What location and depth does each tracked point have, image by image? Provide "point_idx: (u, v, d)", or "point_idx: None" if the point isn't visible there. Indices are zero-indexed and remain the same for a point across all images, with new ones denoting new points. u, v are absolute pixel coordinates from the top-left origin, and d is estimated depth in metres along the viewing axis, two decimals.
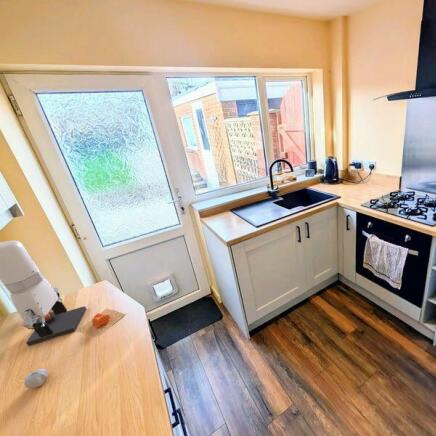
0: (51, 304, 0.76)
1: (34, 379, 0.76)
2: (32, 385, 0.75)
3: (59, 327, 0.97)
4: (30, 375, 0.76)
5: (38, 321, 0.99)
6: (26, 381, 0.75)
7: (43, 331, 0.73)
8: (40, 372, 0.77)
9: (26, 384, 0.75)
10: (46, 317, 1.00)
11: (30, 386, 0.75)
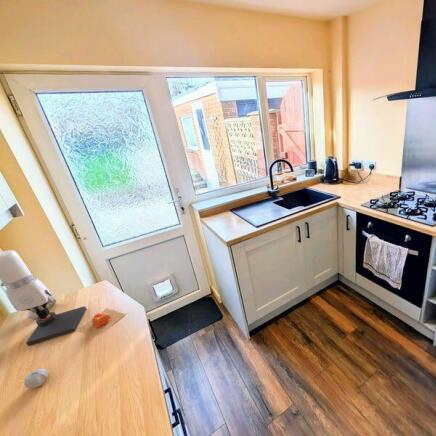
0: None
1: (34, 379, 0.76)
2: (32, 385, 0.75)
3: (59, 327, 0.97)
4: (30, 375, 0.76)
5: (38, 321, 0.99)
6: (26, 381, 0.75)
7: (47, 310, 1.01)
8: (40, 372, 0.77)
9: (26, 384, 0.75)
10: None
11: (30, 386, 0.75)
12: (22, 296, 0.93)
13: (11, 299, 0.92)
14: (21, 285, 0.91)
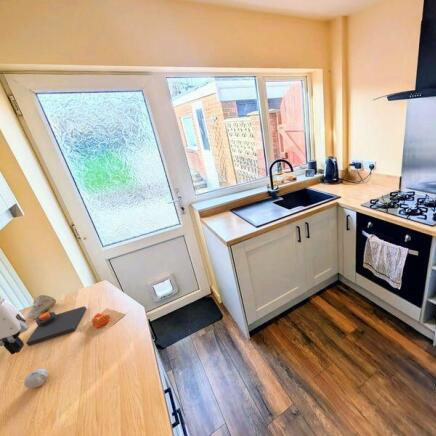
0: None
1: (34, 379, 0.76)
2: (32, 385, 0.75)
3: (59, 327, 0.97)
4: (30, 375, 0.76)
5: (38, 321, 0.99)
6: (26, 381, 0.75)
7: (21, 340, 0.74)
8: (40, 372, 0.77)
9: (26, 384, 0.75)
10: (46, 317, 1.00)
11: (30, 386, 0.75)
12: None
13: None
14: None
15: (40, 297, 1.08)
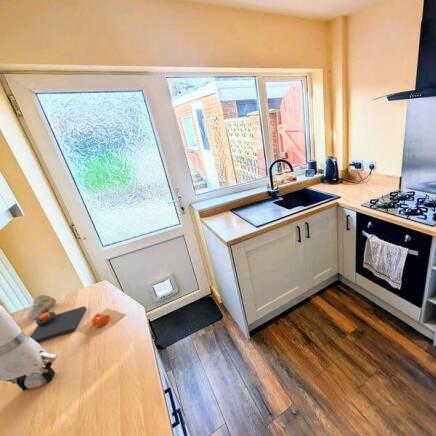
0: None
1: (34, 379, 0.76)
2: (32, 385, 0.75)
3: (59, 327, 0.97)
4: (30, 375, 0.76)
5: (38, 321, 0.99)
6: (26, 381, 0.75)
7: (52, 370, 0.79)
8: (40, 372, 0.77)
9: (26, 384, 0.75)
10: (46, 317, 1.00)
11: (30, 386, 0.75)
12: (10, 363, 0.71)
13: None
14: (8, 350, 0.69)
15: (40, 297, 1.08)
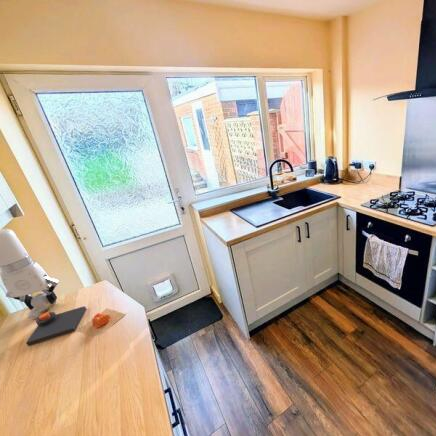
0: None
1: (39, 299, 0.88)
2: (37, 304, 0.88)
3: (59, 327, 0.97)
4: (36, 296, 0.89)
5: (38, 321, 0.99)
6: (32, 300, 0.88)
7: (54, 294, 0.92)
8: (44, 295, 0.90)
9: (32, 303, 0.88)
10: (46, 317, 1.00)
11: (36, 305, 0.88)
12: (19, 280, 0.83)
13: (6, 284, 0.82)
14: (18, 268, 0.81)
15: None
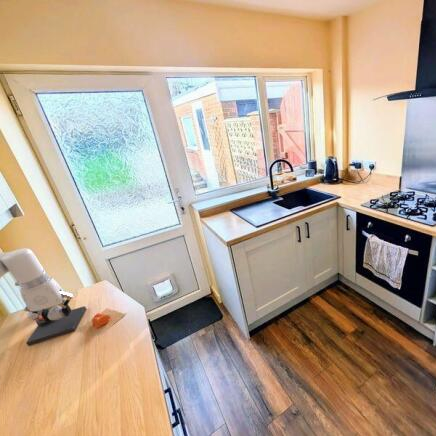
0: None
1: (55, 312, 0.94)
2: (54, 317, 0.94)
3: (59, 327, 0.97)
4: (52, 310, 0.95)
5: (38, 321, 0.99)
6: (49, 314, 0.94)
7: (69, 307, 0.98)
8: (60, 308, 0.96)
9: (49, 316, 0.94)
10: None
11: (52, 318, 0.94)
12: (37, 296, 0.89)
13: (25, 299, 0.88)
14: (36, 285, 0.87)
15: None
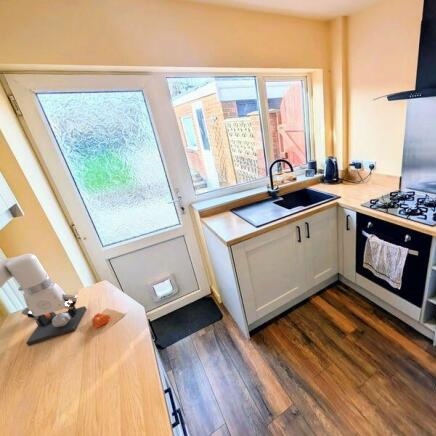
0: None
1: (60, 319, 0.96)
2: (58, 324, 0.96)
3: (59, 327, 0.97)
4: (56, 316, 0.97)
5: None
6: (53, 320, 0.95)
7: (75, 309, 0.99)
8: (64, 315, 0.97)
9: (53, 323, 0.95)
10: None
11: (56, 324, 0.96)
12: (40, 301, 0.90)
13: (28, 304, 0.89)
14: (40, 290, 0.88)
15: None
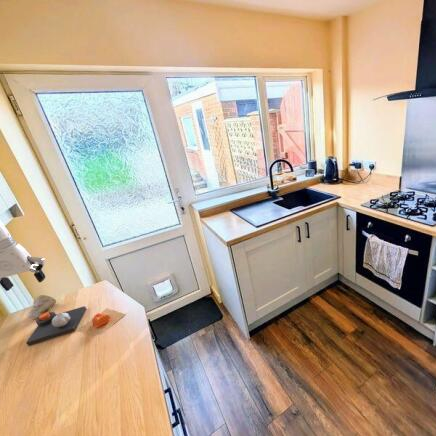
0: None
1: (60, 319, 0.96)
2: (58, 324, 0.96)
3: (59, 327, 0.97)
4: (56, 316, 0.97)
5: (38, 321, 0.99)
6: (53, 320, 0.95)
7: (43, 273, 0.92)
8: (64, 315, 0.97)
9: (53, 323, 0.95)
10: (46, 317, 1.00)
11: (56, 324, 0.96)
12: (1, 261, 0.83)
13: None
14: (0, 248, 0.82)
15: (40, 297, 1.08)
